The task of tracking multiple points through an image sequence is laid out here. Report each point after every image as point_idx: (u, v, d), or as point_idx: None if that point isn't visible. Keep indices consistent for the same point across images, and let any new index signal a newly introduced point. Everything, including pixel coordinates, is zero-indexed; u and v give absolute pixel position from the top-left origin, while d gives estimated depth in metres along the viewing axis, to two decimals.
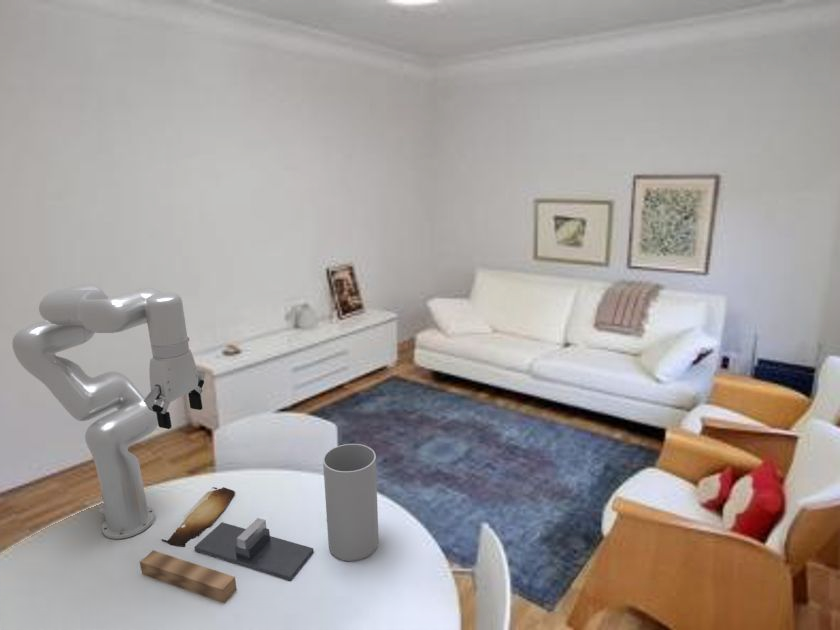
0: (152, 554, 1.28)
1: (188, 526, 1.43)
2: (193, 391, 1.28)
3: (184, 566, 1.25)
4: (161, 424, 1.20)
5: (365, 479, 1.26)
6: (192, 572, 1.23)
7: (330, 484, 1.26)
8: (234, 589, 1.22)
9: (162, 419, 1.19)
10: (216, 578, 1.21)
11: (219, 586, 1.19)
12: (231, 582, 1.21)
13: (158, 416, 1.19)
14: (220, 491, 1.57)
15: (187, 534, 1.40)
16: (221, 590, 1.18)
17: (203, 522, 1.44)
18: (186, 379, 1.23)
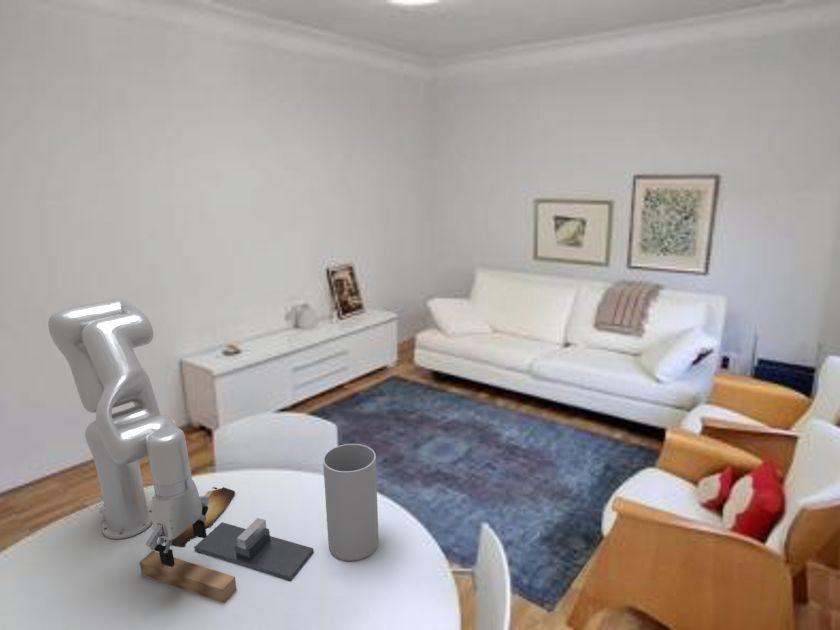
0: (152, 554, 1.28)
1: None
2: (197, 519, 1.25)
3: (184, 566, 1.25)
4: (164, 562, 1.16)
5: (365, 479, 1.26)
6: (192, 572, 1.23)
7: (330, 484, 1.26)
8: (234, 589, 1.22)
9: (165, 558, 1.16)
10: (216, 578, 1.21)
11: (219, 586, 1.19)
12: (231, 582, 1.21)
13: (161, 555, 1.16)
14: (220, 491, 1.57)
15: (187, 534, 1.40)
16: (221, 590, 1.18)
17: None
18: (189, 513, 1.19)
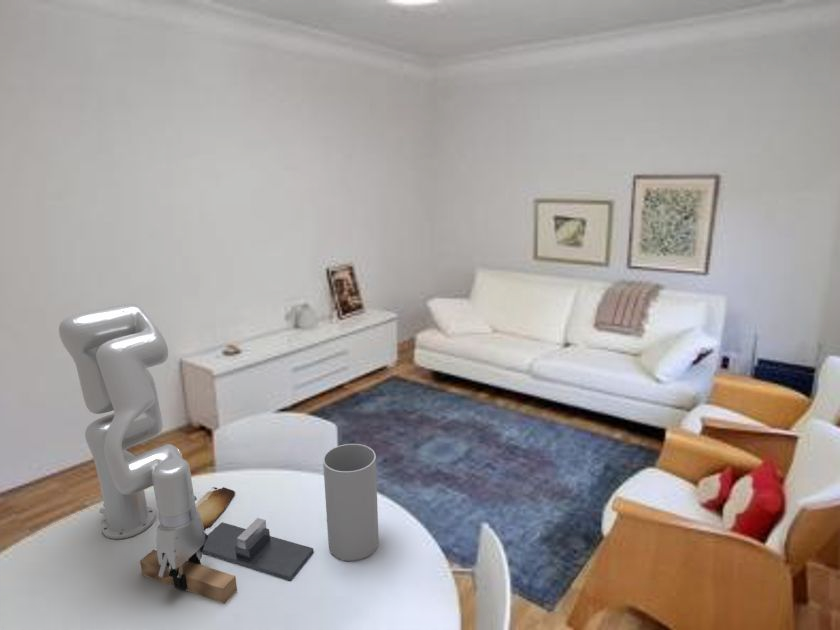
0: (152, 553, 1.28)
1: None
2: (193, 556, 1.25)
3: (184, 565, 1.24)
4: (177, 586, 1.21)
5: (365, 479, 1.26)
6: (192, 571, 1.23)
7: (330, 484, 1.26)
8: (234, 588, 1.22)
9: (178, 582, 1.21)
10: (216, 577, 1.21)
11: (219, 585, 1.19)
12: (231, 581, 1.20)
13: (174, 579, 1.21)
14: (220, 491, 1.57)
15: None
16: (222, 589, 1.18)
17: (203, 522, 1.44)
18: (193, 541, 1.22)
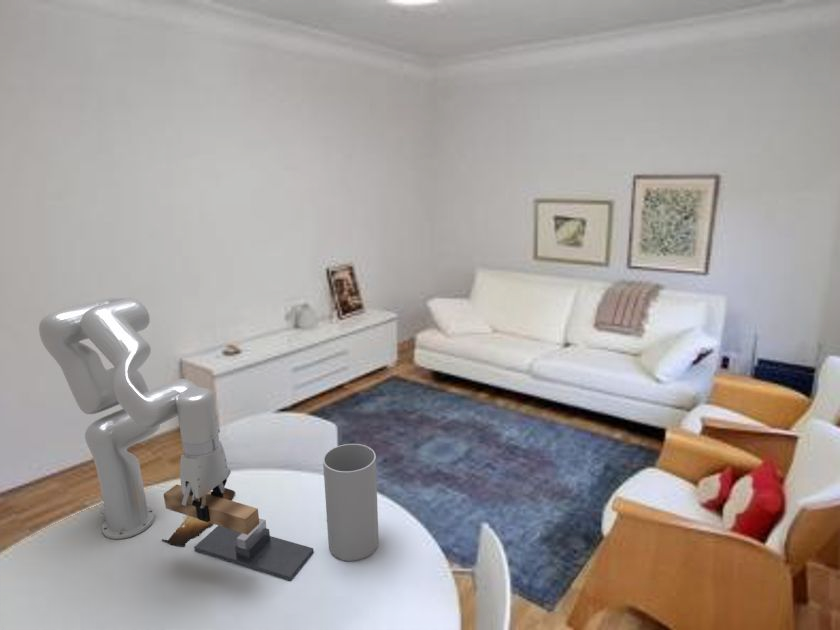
0: (176, 488, 1.28)
1: (188, 526, 1.43)
2: (216, 489, 1.25)
3: (207, 498, 1.24)
4: (200, 518, 1.21)
5: (365, 479, 1.26)
6: (215, 503, 1.22)
7: (330, 484, 1.26)
8: (257, 521, 1.21)
9: (201, 513, 1.21)
10: (239, 509, 1.20)
11: (242, 516, 1.18)
12: (254, 513, 1.20)
13: (197, 510, 1.21)
14: None
15: (188, 534, 1.40)
16: (244, 520, 1.17)
17: (203, 522, 1.44)
18: (216, 473, 1.21)
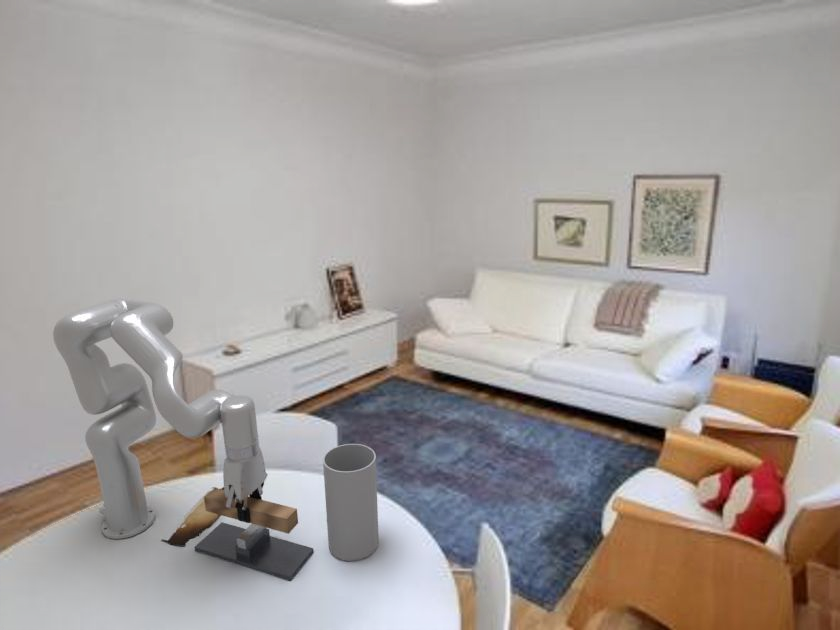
0: (215, 491, 1.35)
1: (188, 526, 1.43)
2: (254, 492, 1.32)
3: (247, 500, 1.31)
4: (241, 519, 1.28)
5: (365, 479, 1.26)
6: (255, 505, 1.29)
7: (330, 484, 1.26)
8: (296, 521, 1.28)
9: (243, 514, 1.27)
10: (279, 509, 1.27)
11: (283, 516, 1.25)
12: (294, 513, 1.27)
13: (239, 512, 1.27)
14: None
15: (188, 534, 1.40)
16: (286, 519, 1.24)
17: (203, 522, 1.44)
18: (256, 476, 1.28)
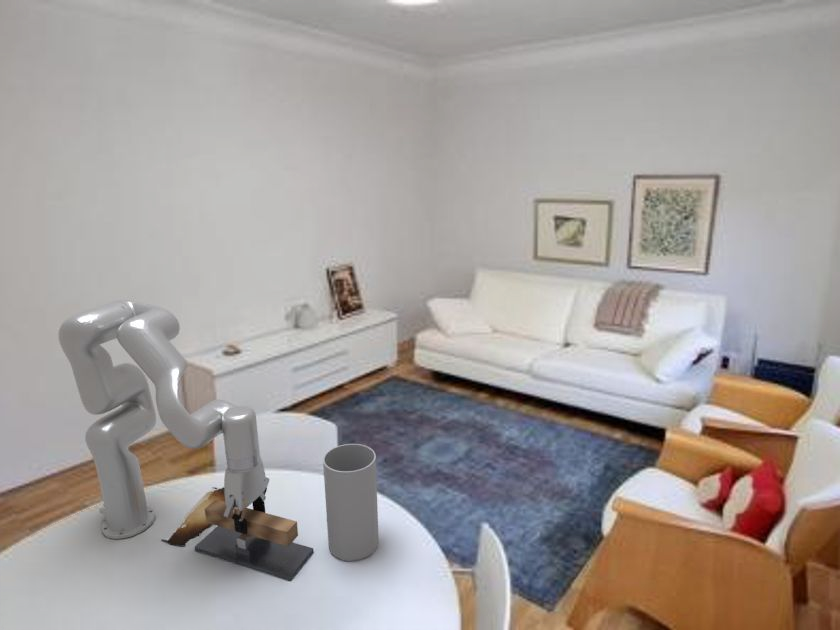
0: (215, 503, 1.36)
1: (188, 526, 1.43)
2: (257, 498, 1.33)
3: (247, 513, 1.32)
4: (238, 530, 1.27)
5: (365, 479, 1.26)
6: (256, 517, 1.30)
7: (330, 484, 1.26)
8: (296, 533, 1.29)
9: (240, 526, 1.27)
10: (279, 522, 1.29)
11: (283, 529, 1.26)
12: (294, 526, 1.28)
13: (236, 523, 1.27)
14: (220, 491, 1.57)
15: (188, 534, 1.40)
16: (286, 532, 1.25)
17: (203, 522, 1.44)
18: (257, 486, 1.29)
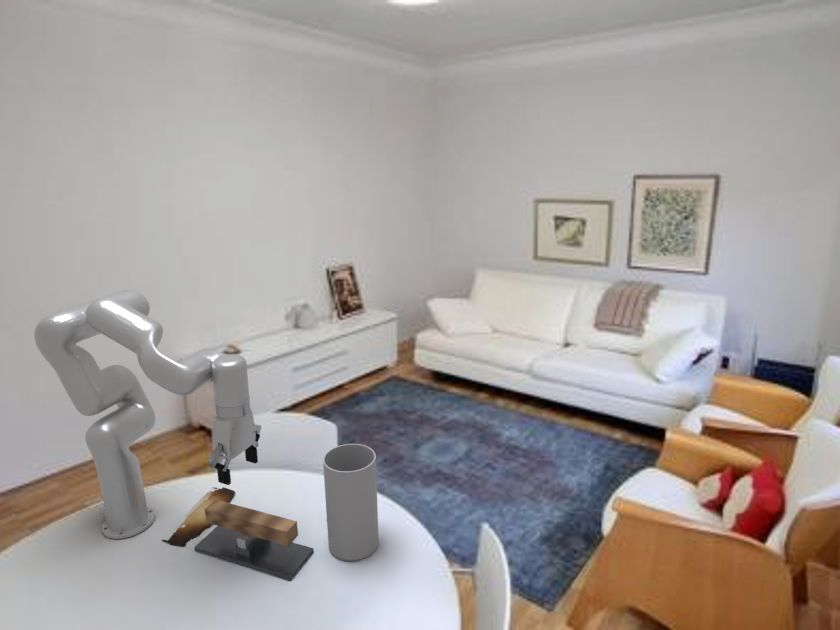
0: (215, 503, 1.36)
1: (188, 526, 1.43)
2: (250, 445, 1.33)
3: (247, 512, 1.32)
4: (221, 480, 1.24)
5: (365, 479, 1.26)
6: (256, 517, 1.30)
7: (330, 484, 1.26)
8: (296, 533, 1.29)
9: (223, 476, 1.24)
10: (279, 522, 1.29)
11: (283, 528, 1.26)
12: (294, 526, 1.28)
13: (219, 473, 1.24)
14: (220, 491, 1.57)
15: (188, 534, 1.40)
16: (286, 532, 1.25)
17: (203, 522, 1.44)
18: (246, 436, 1.27)
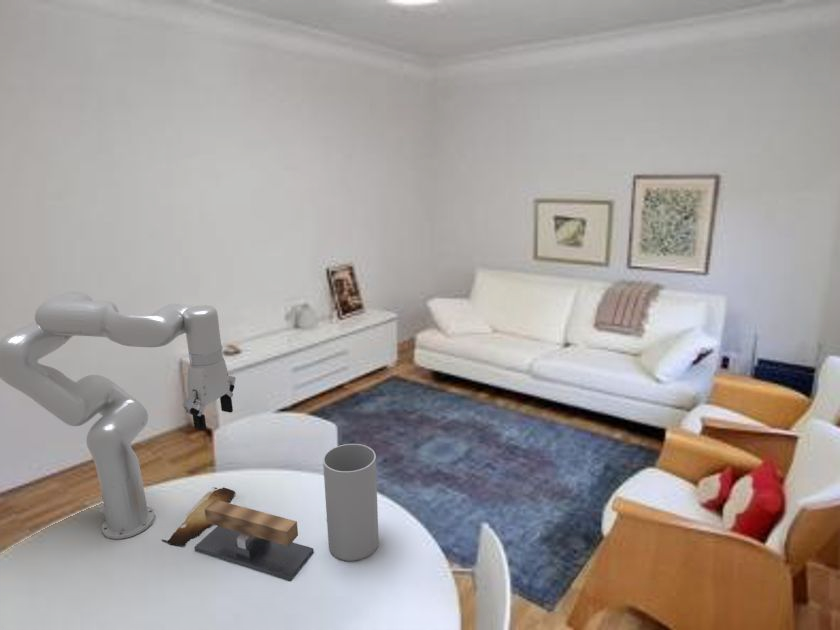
0: (215, 503, 1.36)
1: (188, 526, 1.43)
2: (224, 395, 1.39)
3: (247, 512, 1.32)
4: (197, 425, 1.31)
5: (365, 479, 1.26)
6: (256, 517, 1.30)
7: (330, 484, 1.26)
8: (296, 533, 1.29)
9: (198, 421, 1.30)
10: (279, 522, 1.29)
11: (283, 528, 1.26)
12: (294, 526, 1.28)
13: (194, 418, 1.30)
14: (220, 491, 1.57)
15: (188, 534, 1.40)
16: (286, 532, 1.25)
17: (203, 522, 1.44)
18: (219, 384, 1.34)
